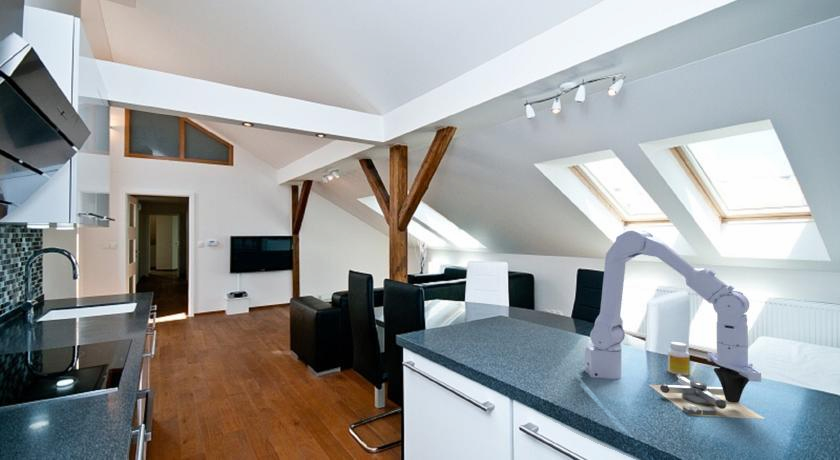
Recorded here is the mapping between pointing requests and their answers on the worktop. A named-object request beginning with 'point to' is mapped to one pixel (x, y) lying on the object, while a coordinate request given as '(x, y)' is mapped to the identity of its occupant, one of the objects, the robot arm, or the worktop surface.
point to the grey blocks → (699, 410)
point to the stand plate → (730, 410)
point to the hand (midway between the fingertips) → (732, 401)
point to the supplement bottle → (678, 359)
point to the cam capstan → (696, 392)
